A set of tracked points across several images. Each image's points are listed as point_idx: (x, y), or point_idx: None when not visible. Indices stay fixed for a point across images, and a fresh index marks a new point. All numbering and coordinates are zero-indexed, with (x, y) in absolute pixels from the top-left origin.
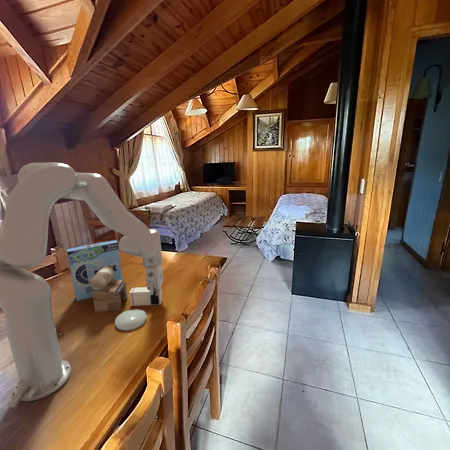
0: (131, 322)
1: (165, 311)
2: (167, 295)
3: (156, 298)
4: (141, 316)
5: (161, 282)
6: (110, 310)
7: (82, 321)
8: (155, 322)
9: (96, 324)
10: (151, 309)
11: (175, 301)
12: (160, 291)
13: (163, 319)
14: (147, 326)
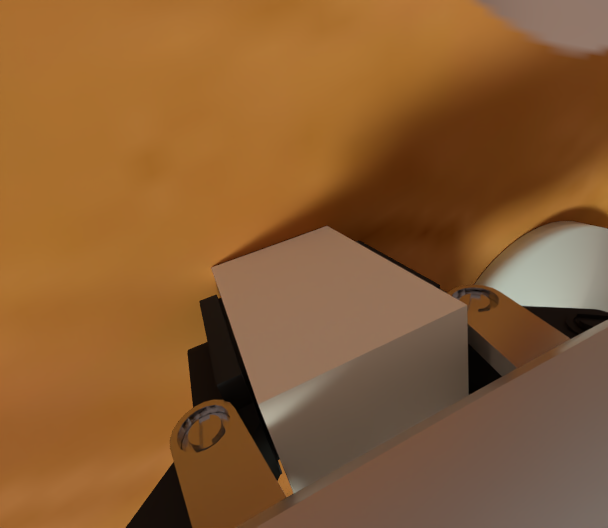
0: (595, 298)
1: (445, 100)
2: (78, 247)
3: None
4: (554, 274)
5: (563, 485)
6: None
7: None
8: (576, 130)
9: None
10: (413, 269)
11: (217, 29)
12: (344, 316)
13: (556, 67)
14: (601, 174)
